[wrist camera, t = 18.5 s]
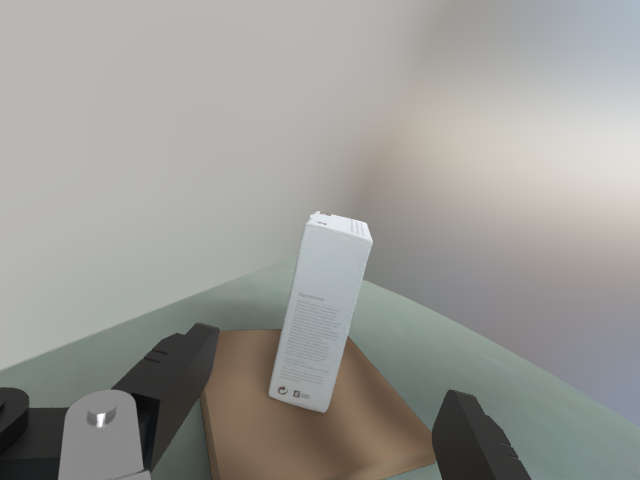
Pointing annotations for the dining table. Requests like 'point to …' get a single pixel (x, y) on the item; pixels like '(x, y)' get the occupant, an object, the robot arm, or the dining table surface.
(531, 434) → the dining table surface
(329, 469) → the walnut board
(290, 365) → the skincare box
